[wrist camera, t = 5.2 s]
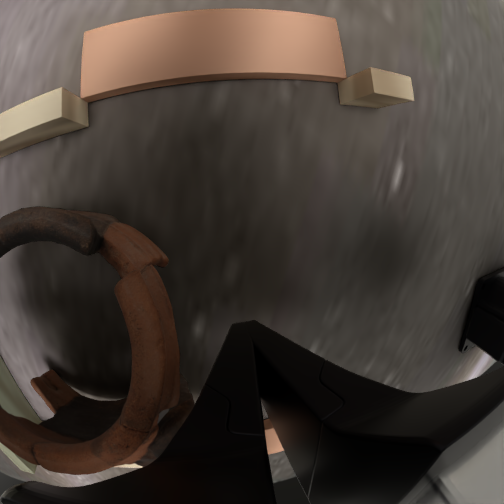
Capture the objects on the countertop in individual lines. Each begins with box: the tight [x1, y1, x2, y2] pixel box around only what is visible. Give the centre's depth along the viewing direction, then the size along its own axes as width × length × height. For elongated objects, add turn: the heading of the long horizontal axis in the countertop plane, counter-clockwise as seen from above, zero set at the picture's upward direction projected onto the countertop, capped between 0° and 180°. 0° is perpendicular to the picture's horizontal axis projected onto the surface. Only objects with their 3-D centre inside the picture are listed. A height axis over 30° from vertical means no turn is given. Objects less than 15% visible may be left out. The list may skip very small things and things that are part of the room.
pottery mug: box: [0, 207, 195, 475], centre depth 9 cm, size 12×10×8 cm
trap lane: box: [0, 9, 414, 474], centre depth 9 cm, size 22×23×4 cm
